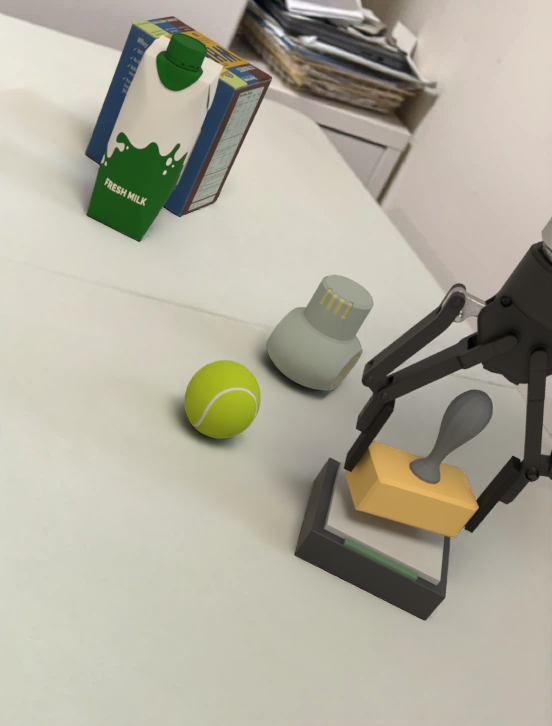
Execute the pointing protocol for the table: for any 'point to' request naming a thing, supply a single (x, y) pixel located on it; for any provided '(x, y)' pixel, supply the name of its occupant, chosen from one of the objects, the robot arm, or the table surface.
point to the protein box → (221, 124)
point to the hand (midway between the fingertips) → (408, 493)
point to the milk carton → (154, 133)
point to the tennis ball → (222, 399)
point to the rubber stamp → (423, 474)
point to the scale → (372, 547)
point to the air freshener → (322, 334)
